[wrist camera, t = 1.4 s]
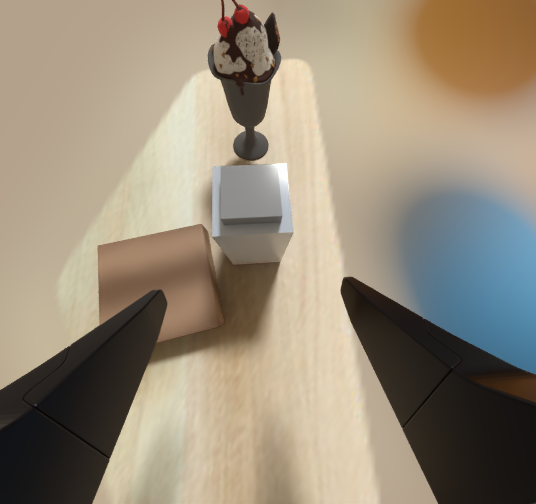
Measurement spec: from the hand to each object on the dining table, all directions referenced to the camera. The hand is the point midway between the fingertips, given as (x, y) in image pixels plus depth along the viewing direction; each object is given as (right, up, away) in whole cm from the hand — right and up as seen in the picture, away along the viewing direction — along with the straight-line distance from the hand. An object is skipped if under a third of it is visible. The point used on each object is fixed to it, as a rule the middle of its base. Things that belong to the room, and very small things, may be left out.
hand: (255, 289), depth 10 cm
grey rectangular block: (-1, +3, +14) cm, 14 cm away
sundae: (-2, +17, +18) cm, 25 cm away
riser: (-11, -2, +13) cm, 17 cm away
